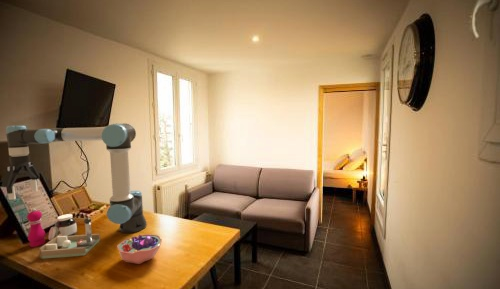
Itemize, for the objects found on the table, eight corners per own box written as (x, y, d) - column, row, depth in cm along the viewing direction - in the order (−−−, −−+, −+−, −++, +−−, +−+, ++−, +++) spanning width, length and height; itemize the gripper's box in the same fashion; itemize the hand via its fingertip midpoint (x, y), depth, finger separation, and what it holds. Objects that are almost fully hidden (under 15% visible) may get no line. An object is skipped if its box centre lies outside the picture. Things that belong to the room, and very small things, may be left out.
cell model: (129, 249, 121) (128, 228, 119) (168, 249, 120) (167, 228, 119) (109, 270, 104) (107, 246, 103) (153, 271, 103) (152, 246, 102)
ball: (72, 244, 123) (72, 238, 123) (68, 248, 120) (67, 241, 120) (65, 245, 123) (64, 238, 123) (60, 249, 119) (60, 242, 119)
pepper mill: (35, 248, 123) (31, 211, 121) (24, 246, 124) (20, 210, 122) (49, 241, 130) (46, 206, 128) (39, 240, 131) (35, 205, 129)
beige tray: (100, 240, 131) (99, 231, 130) (84, 255, 116) (83, 245, 115) (61, 242, 128) (60, 233, 128) (40, 258, 113) (39, 248, 113)
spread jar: (79, 233, 139) (78, 214, 138) (60, 243, 128) (57, 222, 127) (64, 231, 142) (62, 212, 141) (43, 240, 131) (41, 220, 130)
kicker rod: (95, 242, 125) (93, 216, 124) (91, 246, 121) (89, 219, 120) (81, 243, 124) (79, 217, 123) (76, 247, 120) (74, 220, 119)
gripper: (31, 152, 133) (35, 188, 135) (-13, 159, 109) (-8, 203, 111) (45, 151, 134) (49, 188, 136) (4, 159, 109) (10, 202, 111)
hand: (24, 195), depth 123 cm, fingers open, 13 cm apart
